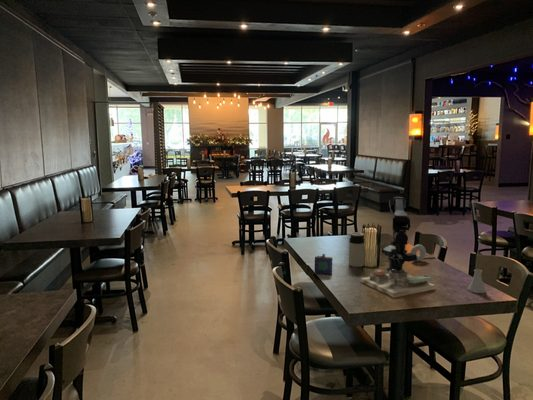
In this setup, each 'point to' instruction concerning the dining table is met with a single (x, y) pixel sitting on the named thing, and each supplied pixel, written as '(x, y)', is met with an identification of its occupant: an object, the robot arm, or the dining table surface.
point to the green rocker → (416, 279)
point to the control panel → (399, 289)
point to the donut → (422, 252)
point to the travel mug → (356, 249)
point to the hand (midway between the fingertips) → (398, 270)
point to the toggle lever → (394, 275)
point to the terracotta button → (379, 273)
